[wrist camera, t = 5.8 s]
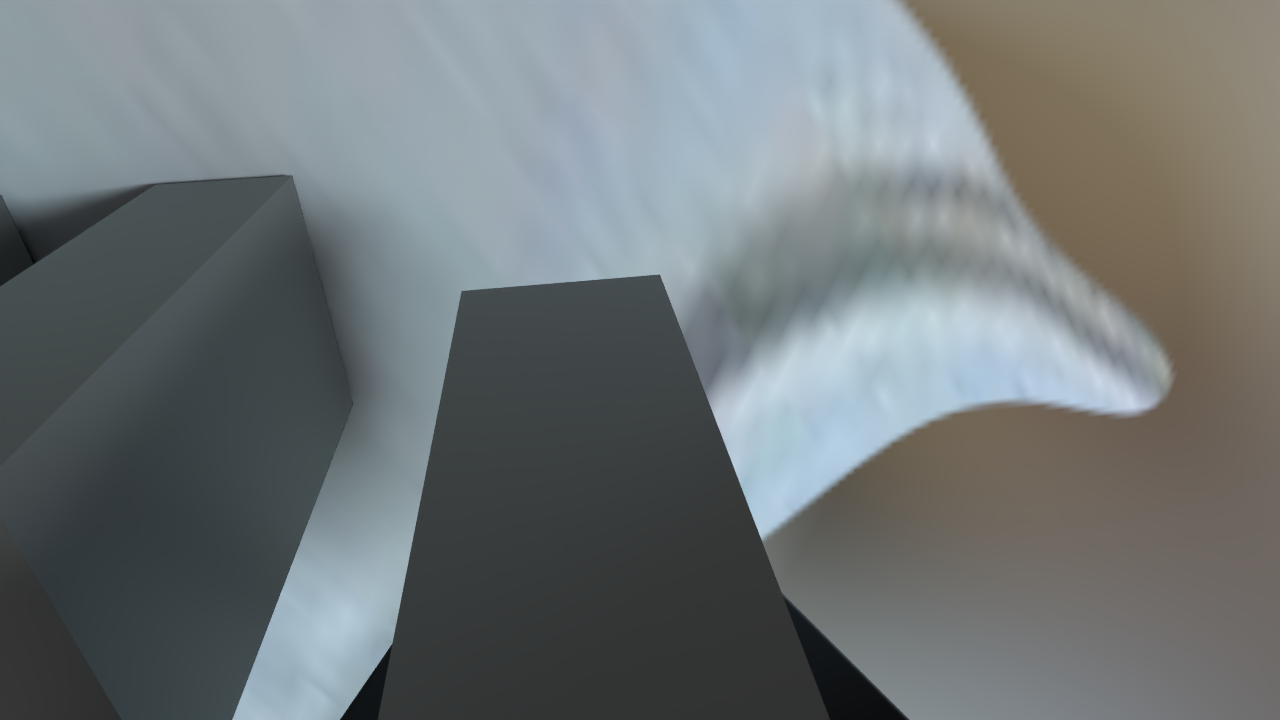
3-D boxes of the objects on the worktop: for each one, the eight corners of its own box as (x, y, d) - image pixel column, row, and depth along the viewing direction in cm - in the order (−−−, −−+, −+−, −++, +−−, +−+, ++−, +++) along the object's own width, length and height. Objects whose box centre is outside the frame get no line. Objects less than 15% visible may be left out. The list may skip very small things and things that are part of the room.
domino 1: (292, 175, 14) (-19, 485, 6) (352, 403, 16) (188, 833, 8) (154, 184, 14) (-352, 518, 6) (237, 414, 16) (-40, 865, 8)
